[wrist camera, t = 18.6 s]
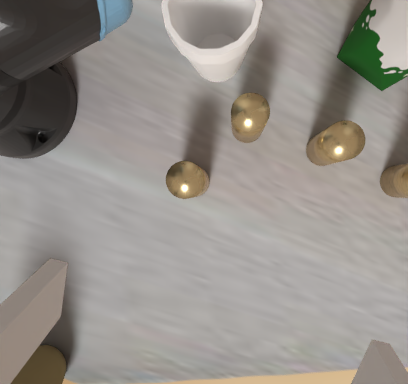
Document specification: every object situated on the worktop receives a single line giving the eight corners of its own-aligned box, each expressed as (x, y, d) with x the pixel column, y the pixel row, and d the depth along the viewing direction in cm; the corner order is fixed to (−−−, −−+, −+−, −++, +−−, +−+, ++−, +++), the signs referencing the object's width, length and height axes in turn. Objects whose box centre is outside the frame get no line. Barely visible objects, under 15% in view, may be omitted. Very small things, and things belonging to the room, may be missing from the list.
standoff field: (186, 107, 45) (174, 87, 36) (419, 125, 43) (468, 108, 34) (177, 195, 46) (164, 196, 37) (409, 218, 43) (455, 226, 34)
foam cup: (266, 41, 44) (280, -19, 31) (233, 106, 45) (233, 72, 32) (202, 10, 45) (189, -62, 32) (169, 74, 46) (144, 28, 33)
